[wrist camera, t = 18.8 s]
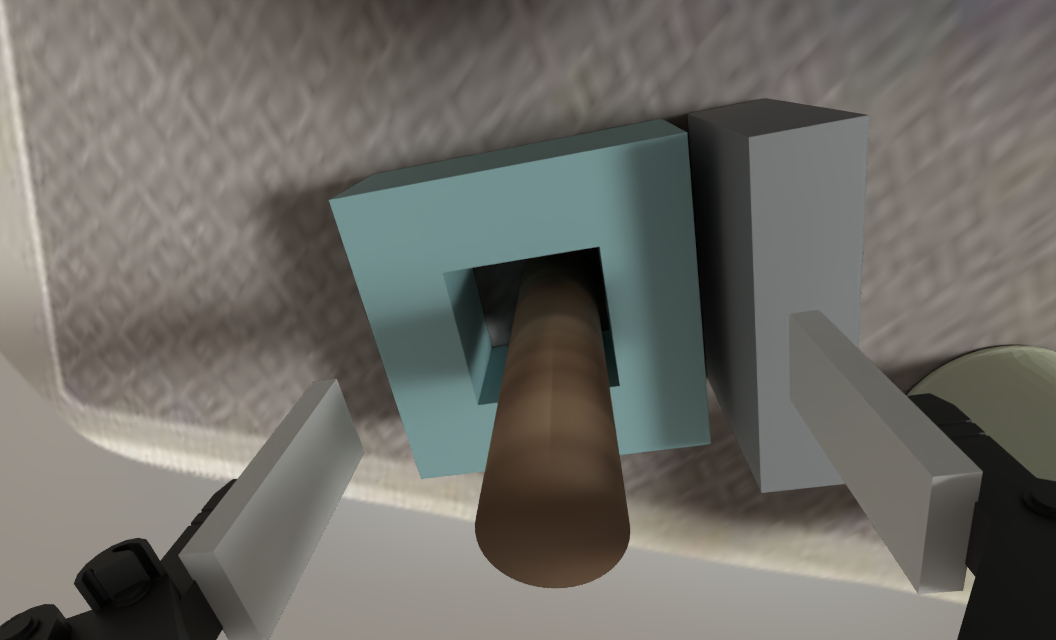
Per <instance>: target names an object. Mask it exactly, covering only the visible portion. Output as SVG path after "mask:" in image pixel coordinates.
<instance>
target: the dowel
mask: <svg viewBox="0 0 1056 640" xmlns="http://www.w3.org/2000/svg"><path fill="white" fill-rule="evenodd" d="M475 533H476V538H477V542H478V544H479V547H480V549H481V551H482V552H483V554H484V556H485V557H486V558H487V559H488V561H489V562H490V563H491V564H492V565H493V566H494V567H495V568H497V569H498V570H499V571H501V572H502V573H504V574H505V575H507V576H509V577H510V578H513V579H515V580H517V581H519V582H522V583H525V584H528V585H533V586H537V587H543V588H567V587H574V586H578V585H582V584H585V583H588V582H591V581H593V580H595V579H597V578H599V577H601V576H602V575H604V574H606V573H607V572H609V571H610V570H611V569H612V568H613V567H614V566H615V565H616V564H617V563H618V562H619V561H620V559H621V558H622V557H623V555H624V553H625V551H626V549H627V547H628V543H629V539H630V523H629V516H628V509H627V503H626V496H625V489H624V482H623V475H622V468H621V462H620V455H619V448H618V441H617V434H616V428H615V421H614V414H613V407H612V400H611V393H610V387H609V380H608V373H607V366H606V359H605V352H604V346H603V339H602V332H601V325H600V318H599V311H598V305H597V298H596V291H595V284H594V277H593V272H592V269H591V267H590V265H589V263H588V261H587V260H586V259H585V258H584V257H583V256H582V255H581V254H580V253H578V252H576V251H569V252H563V253H557V254H551V255H545V256H539V257H533V258H530V259H529V261H528V262H527V264H526V265H525V268H524V270H523V274H522V279H521V284H520V290H519V295H518V300H517V305H516V311H515V316H514V321H513V326H512V331H511V337H510V342H509V347H508V352H507V358H506V363H505V368H504V373H503V379H502V384H501V389H500V394H499V400H498V405H497V410H496V415H495V421H494V426H493V431H492V436H491V441H490V447H489V452H488V457H487V462H486V468H485V473H484V478H483V483H482V489H481V494H480V499H479V504H478V510H477V515H476V521H475Z"/></svg>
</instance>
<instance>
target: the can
mask: <svg viewBox="0 0 1056 640" xmlns="http://www.w3.org/2000/svg"><path fill="white" fill-rule="evenodd" d="M926 393H931V394H933V395H935V396H937V397H939V398H941V399H943V400H945V401H948V402H950V403H952V404H954V405H955V406H956V407H958V408H959V409H960V410H961V411H962V412H963V413H964V414H965V415H967V416H968V417H969V418H970V419H971V421H972V423H976V424H977V425H978V426H979V427H980V428H981V429H982V430H983V431H985V434H986V436H988V435H989V436H990V437H991V438H992V439H994V440H995V441H996V442H997V443H998V444H999V445H1000V446H1001V447H1003V448H1004V449H1005V450H1006V451H1007V452H1008V453H1009V454H1010V455H1012V456H1013V457H1014V458H1015V459H1016V460H1017V461H1018V462H1019V463H1021V464H1022V465H1023V466H1024V467H1025V468H1026V469H1027V470H1028V471H1030V472H1031V473H1032V474H1033V475H1034V476H1035V477H1036V478H1040V479H1046V480H1052V481H1056V352H1054V351H1051V350H1048V349H1044V348H1039V347H1034V346H1023V345H1012V346H1000V347H993V348H988V349H984V350H979V351H976V352H973V353H970V354H967V355H964V356H962V357H960V358H957V359H955V360H953V361H951V362H949V363H947V364H945V365H943V366H941V367H940V368H938V369H936V370H935V371H933V372H932V373H931V374H929V375H928V376H927V377H925V378H924V379H923V380H922V381H920V382H919V383H918V384H917V385H916V386H915V387H914V388H913V389H912V390H911V391H910V392H909V393H908V394H907V395H906V396H910V395H918V394H926Z"/></svg>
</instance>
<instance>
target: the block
mask: <svg viewBox="0 0 1056 640" xmlns="http://www.w3.org/2000/svg"><path fill="white" fill-rule="evenodd" d="M329 202H330V205H331V208H332V211H333V214H334V217H335V220H336V223H337V226H338V229H339V232H340V235H341V238H342V242H343V245H344V248H345V251H346V254H347V257H348V260H349V263H350V266H351V269H352V272H353V275H354V278H355V281H356V284H357V287H358V290H359V293H360V296H361V299H362V302H363V305H364V308H365V311H366V314H367V317H368V320H369V323H370V326H371V329H372V332H373V335H374V338H375V341H376V344H377V347H378V350H379V353H380V356H381V359H382V362H383V365H384V368H385V371H386V374H387V377H388V380H389V383H390V386H391V389H392V392H393V395H394V398H395V401H396V404H397V407H398V410H399V413H400V416H401V419H402V422H403V425H404V428H405V431H406V434H407V437H408V440H409V443H410V447H411V450H412V453H413V456H414V459H415V462H416V465H417V468H418V471H419V474H420V477H421V479H425V478H433V477H441V476H450V475H458V474H466V473H474V472H483V471H485V468H486V462H487V457H488V452H489V447H490V441H491V436H492V431H493V426H494V421H495V415H496V410H497V405H498V400H499V394H500V389H501V384H502V379H503V373H504V368H505V363H506V358H507V352H508V347H509V345H507V346H500V347H494V348H492V346H491V342H490V338H489V334H488V330H487V326H486V321H485V317H484V313H483V309H482V305H481V301H480V297H479V292H478V288H477V284H476V280H475V276H474V272H473V268H474V267H480V266H486V265H492V264H498V263H503V262H509V261H515V260H521V259H527V258H533V257H539V256H545V255H551V254H557V253H563V252H569V251H575V250H581V249H587V248H593V247H598V253H599V260H600V267H601V273H602V280H603V287H604V294H605V301H606V307H607V314H608V321H609V328H610V330H608V331H602V339H603V346H604V352H605V359H606V366H607V373H608V380H609V387H610V393H611V400H612V407H613V414H614V421H615V428H616V434H617V441H618V448H619V455H624V454H632V453H640V452H649V451H657V450H665V449H673V448H682V447H690V446H698V445H707V444H711V439H710V426H709V413H708V400H707V387H706V374H705V360H704V347H703V334H702V321H701V308H700V295H699V282H698V269H697V255H696V242H695V229H694V216H693V203H692V190H691V177H690V164H689V150H688V137H687V132H685V131H684V130H682V129H680V128H678V127H676V126H674V125H672V124H671V123H669V122H667V121H665V120H663V119H657V120H652V121H647V122H642V123H636V124H631V125H626V126H621V127H616V128H610V129H605V130H600V131H595V132H590V133H585V134H579V135H574V136H569V137H564V138H559V139H553V140H548V141H543V142H538V143H533V144H528V145H522V146H517V147H512V148H507V149H502V150H496V151H491V152H486V153H481V154H476V155H471V156H465V157H460V158H455V159H450V160H445V161H439V162H434V163H429V164H424V165H419V166H414V167H408V168H403V169H398V170H393V171H388V172H382V173H377V174H373V175H371V176H369V177H368V178H366V179H364V180H362V181H361V182H359V183H357V184H356V185H354V186H352V187H350V188H349V189H347V190H345V191H344V192H342V193H340V194H338V195H337V196H335V197H333V198H331V199H330V200H329Z"/></svg>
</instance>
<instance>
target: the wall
mask: <svg viewBox="0 0 1056 640" xmlns="http://www.w3.org/2000/svg"><path fill="white" fill-rule="evenodd" d="M688 127H689V140H690V153H691V167H692V180H693V193H694V207H695V220H696V233H697V247H698V260H699V273H700V287H701V300H702V313H703V327H704V340H705V353H706V367H707V378H708V380H709V382H710V384H711V386H712V389H713V391H714V393H715V395H716V397H717V399H718V401H719V404H720V406H721V408H722V410H723V412H724V414H725V416H726V419H727V421H728V423H729V425H730V427H731V429H732V431H733V434H734V436H735V438H736V440H737V442H738V444H739V446H740V449H741V451H742V453H743V455H744V457H745V459H746V461H747V464H748V466H749V468H750V470H751V472H752V474H753V476H754V479H755V481H756V483H757V485H758V487H759V489H760V491H761V493H766V492H776V491H785V490H794V489H803V488H812V487H822V486H831V485H840V484H845V482H844V481H843V479H842V478H841V476H840V475H839V473H838V472H837V470H836V469H835V467H834V465H833V464H832V462H831V461H830V459H829V458H828V456H827V455H826V453H825V452H824V450H823V449H822V447H821V446H820V444H819V443H818V441H817V440H816V438H815V437H814V435H813V434H812V432H811V431H810V429H809V428H808V426H807V425H806V423H805V422H804V420H803V419H802V417H801V416H800V414H799V412H798V411H797V409H796V408H795V406H794V405H793V403H792V402H791V400H790V368H789V314H791V313H798V312H804V311H811V310H818V309H819V310H820V311H821V312H822V313H823V314H824V315H825V316H826V317H827V318H828V319H829V320H830V321H831V322H832V323H833V324H834V325H835V326H836V327H837V328H838V329H839V330H840V331H841V332H842V333H843V334H844V335H845V336H846V337H847V338H848V339H849V340H850V341H851V342H852V343H853V344H854V345H855V346H856V347H857V348H858V349H859V327H860V305H861V283H862V261H863V239H864V217H865V195H866V173H867V151H868V129H869V115H865V114H859V113H853V112H847V111H841V110H835V109H829V108H823V107H817V106H810V105H804V104H798V103H792V102H786V101H780V100H774V99H768V98H766V99H761V100H756V101H750V102H745V103H740V104H735V105H730V106H724V107H719V108H714V109H709V110H704V111H699V112H693V113H688Z"/></svg>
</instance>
